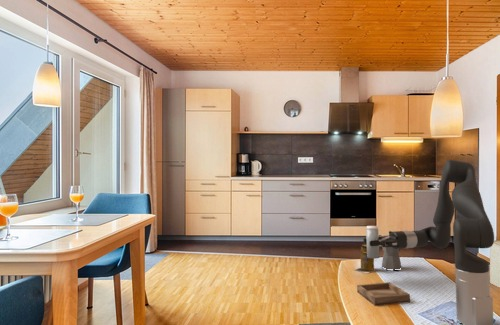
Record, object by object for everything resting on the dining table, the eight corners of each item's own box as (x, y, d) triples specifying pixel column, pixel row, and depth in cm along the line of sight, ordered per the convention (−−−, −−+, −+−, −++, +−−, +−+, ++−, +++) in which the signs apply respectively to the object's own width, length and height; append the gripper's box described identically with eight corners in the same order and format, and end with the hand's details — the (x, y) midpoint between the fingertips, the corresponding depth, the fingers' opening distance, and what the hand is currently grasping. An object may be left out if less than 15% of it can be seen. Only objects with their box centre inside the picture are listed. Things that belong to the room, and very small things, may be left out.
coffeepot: (392, 273, 167) (390, 234, 167) (374, 268, 175) (373, 231, 175) (411, 267, 176) (409, 230, 176) (393, 263, 184) (392, 227, 184)
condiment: (378, 270, 173) (377, 245, 173) (366, 273, 168) (365, 248, 168) (365, 267, 179) (364, 242, 179) (354, 270, 174) (353, 245, 174)
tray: (410, 302, 133) (409, 294, 133) (374, 305, 131) (374, 297, 131) (389, 289, 147) (389, 282, 147) (357, 292, 145) (357, 285, 145)
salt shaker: (381, 258, 154) (380, 227, 154) (370, 259, 153) (369, 227, 153) (375, 255, 159) (374, 225, 159) (364, 256, 158) (363, 225, 158)
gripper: (393, 228, 165) (358, 230, 162) (412, 234, 151) (374, 236, 148) (394, 244, 165) (359, 247, 162) (413, 252, 151) (375, 254, 148)
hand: (367, 242), depth 155 cm, fingers closed on salt shaker, 5 cm apart
